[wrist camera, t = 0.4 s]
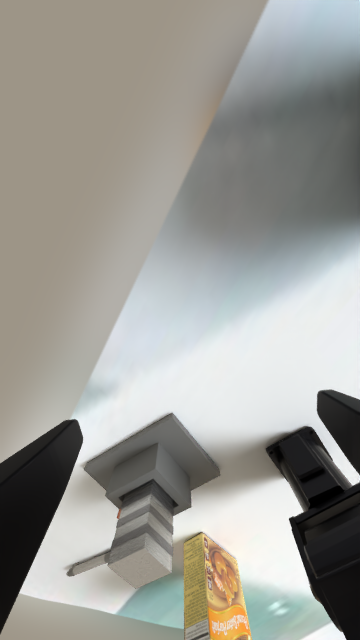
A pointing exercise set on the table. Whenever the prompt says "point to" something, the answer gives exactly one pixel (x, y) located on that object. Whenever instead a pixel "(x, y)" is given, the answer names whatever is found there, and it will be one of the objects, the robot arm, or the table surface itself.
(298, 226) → the table surface
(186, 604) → the candy box
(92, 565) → the pen
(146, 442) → the stand base
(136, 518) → the column
